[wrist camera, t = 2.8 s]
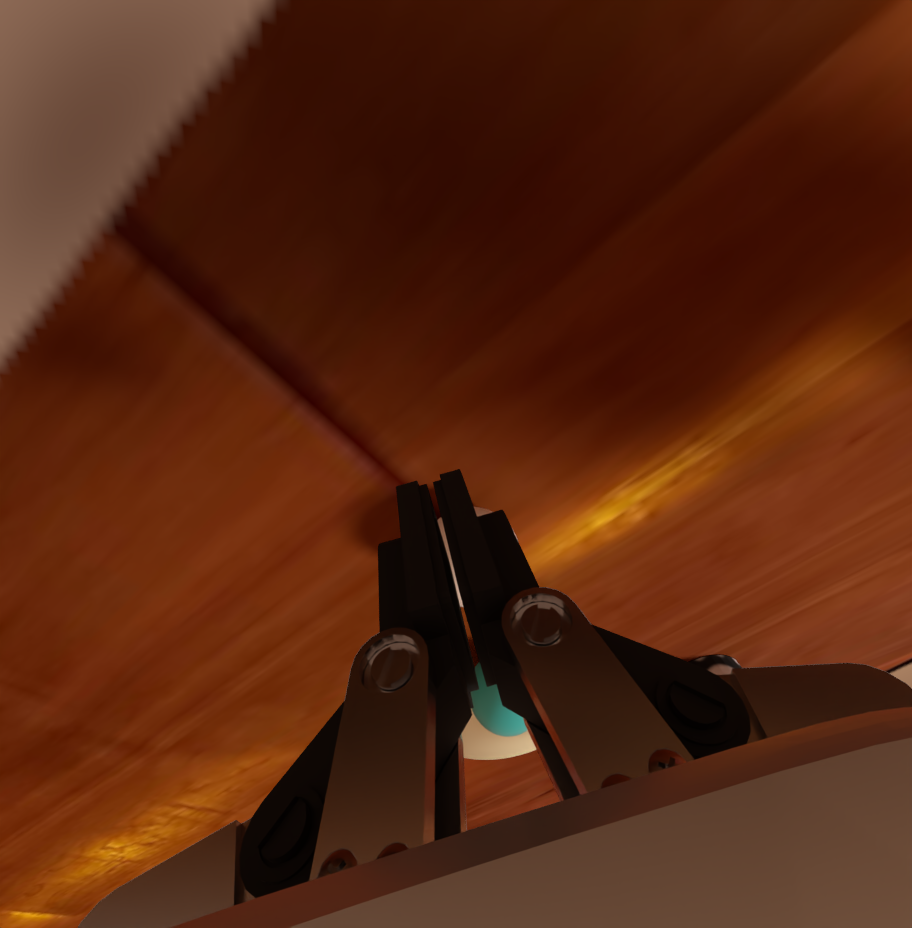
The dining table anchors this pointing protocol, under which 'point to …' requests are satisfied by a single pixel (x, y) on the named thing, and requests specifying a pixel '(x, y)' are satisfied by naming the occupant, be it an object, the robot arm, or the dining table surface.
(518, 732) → the object ball
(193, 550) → the dining table surface
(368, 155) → the dining table surface
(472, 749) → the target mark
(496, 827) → the robot arm
